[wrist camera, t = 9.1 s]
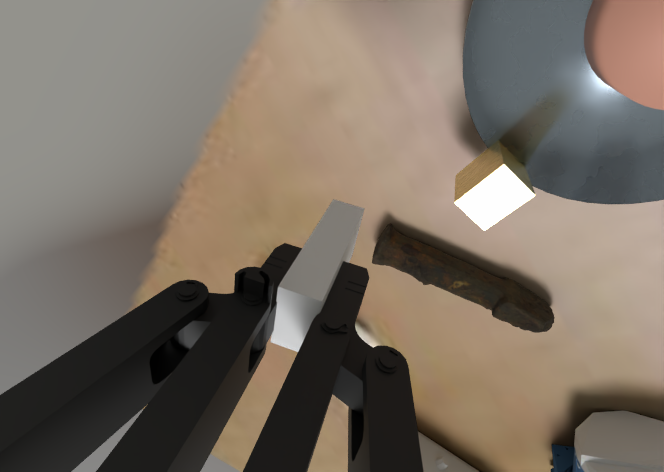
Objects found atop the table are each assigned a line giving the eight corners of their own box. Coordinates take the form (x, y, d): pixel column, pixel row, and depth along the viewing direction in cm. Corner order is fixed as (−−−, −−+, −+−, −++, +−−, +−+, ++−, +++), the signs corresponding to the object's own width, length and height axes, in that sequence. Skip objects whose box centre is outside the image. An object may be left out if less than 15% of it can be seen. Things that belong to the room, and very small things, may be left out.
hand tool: (373, 245, 41) (364, 270, 38) (388, 217, 39) (380, 241, 35) (532, 320, 41) (539, 354, 37) (557, 297, 38) (567, 330, 35)
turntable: (546, -241, 20) (580, -338, 14) (1078, -200, 16) (1411, -307, 10) (419, 174, 33) (410, 210, 27) (695, 245, 30) (749, 303, 24)
